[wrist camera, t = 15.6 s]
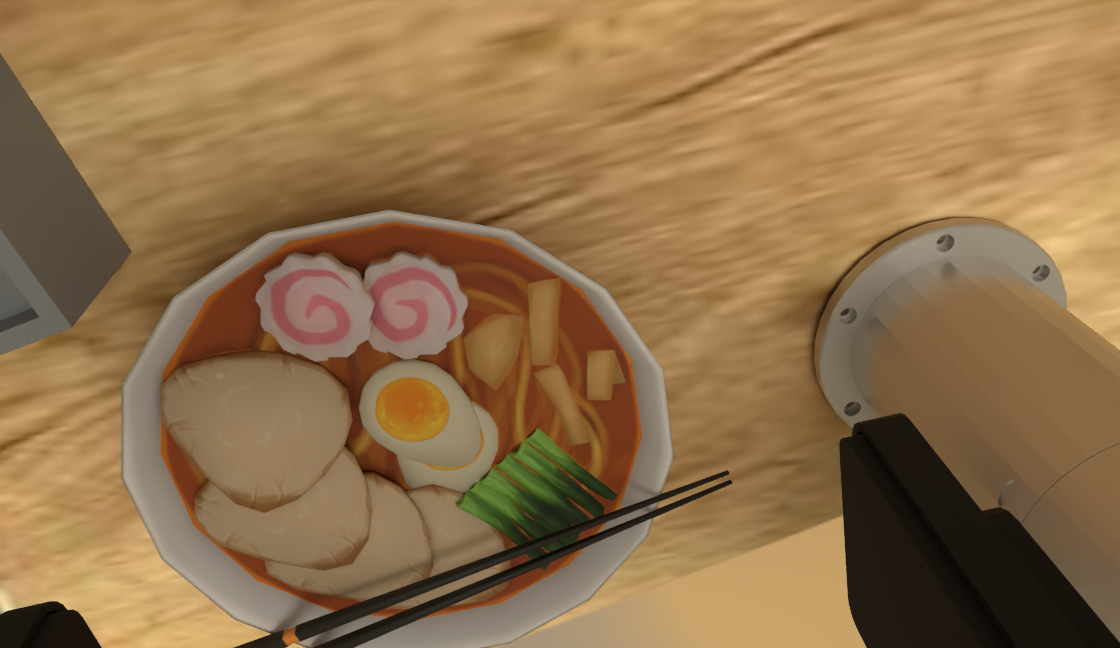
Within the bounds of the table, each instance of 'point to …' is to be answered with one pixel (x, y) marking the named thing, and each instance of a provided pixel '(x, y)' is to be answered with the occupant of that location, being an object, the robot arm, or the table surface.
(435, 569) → the ramen bowl
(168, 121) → the table surface
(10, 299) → the grey hollow box
